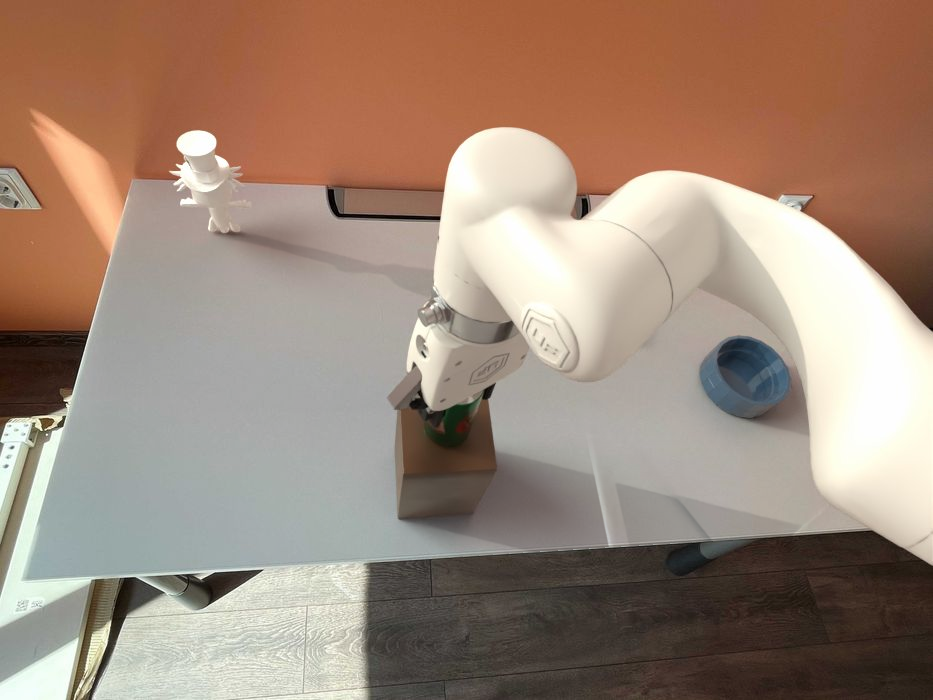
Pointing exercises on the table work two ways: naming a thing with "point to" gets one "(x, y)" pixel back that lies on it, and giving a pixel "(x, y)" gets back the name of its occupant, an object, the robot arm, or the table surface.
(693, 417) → the table surface
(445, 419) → the soda can
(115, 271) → the table surface
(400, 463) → the plinth
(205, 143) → the figurine
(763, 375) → the bowl
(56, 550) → the table surface
